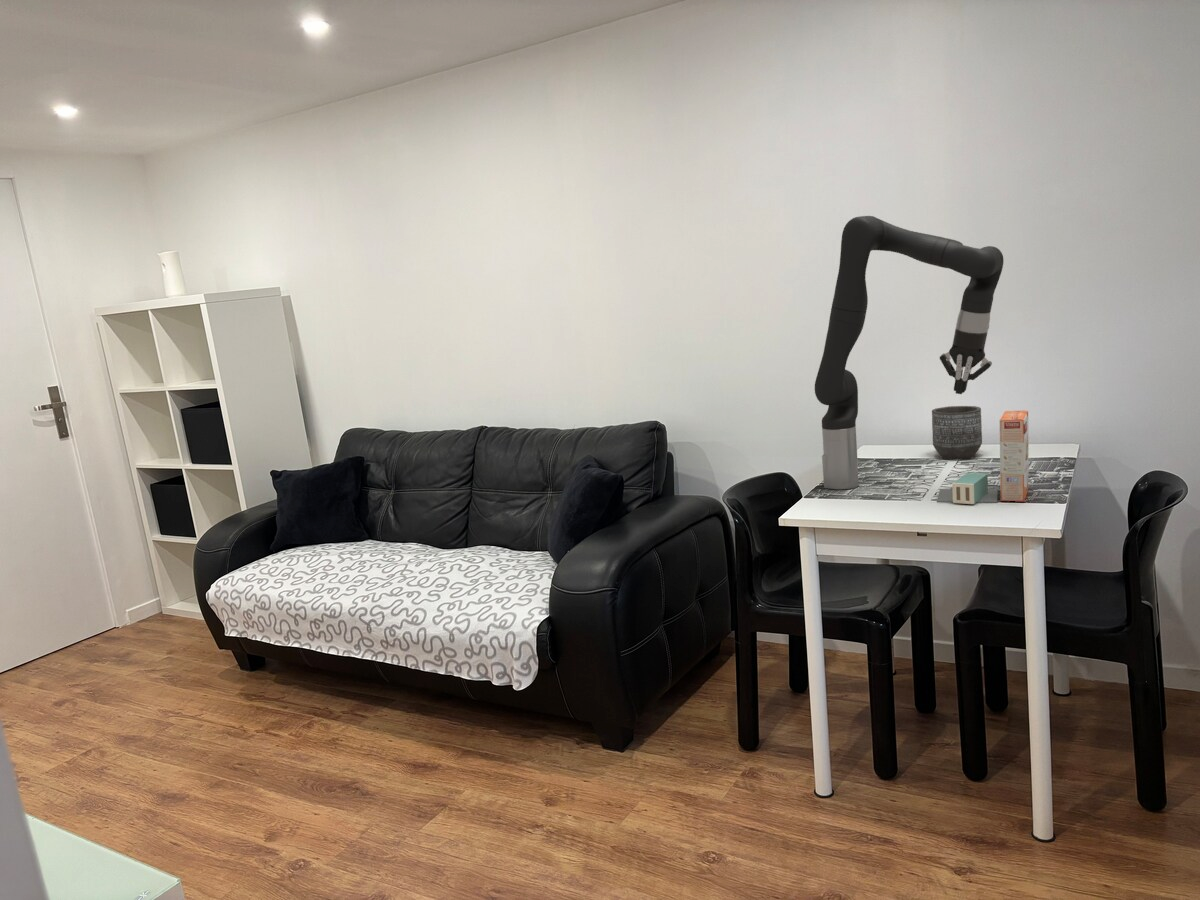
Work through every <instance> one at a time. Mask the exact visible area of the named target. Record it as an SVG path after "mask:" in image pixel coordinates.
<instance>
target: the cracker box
mask: <svg viewBox="0 0 1200 900" xmlns="http://www.w3.org/2000/svg"><path fill="white" fill-rule="evenodd" d="M999 472H1000V473H999V475H1000V476H999V484H1000V485H999V486H1000V498H999V499H1000V501H1001V502H1010V501H1015V503H1017V502H1018V503H1025V502H1026V497H1027V494H1028V491H1029V410H1005V411H1003V413H1002V415H1001V417H1000V419H999Z"/></svg>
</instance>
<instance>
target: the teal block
mask: <svg viewBox="0 0 1200 900" xmlns="http://www.w3.org/2000/svg"><path fill="white" fill-rule="evenodd" d="M988 478H989V477H988V473H977V472H974V473H973V472H967V473H965V474H964V475H962V476H961V477H960V478H958V479H957V480H955V481H953V482H952V483H951V485H952V488H951V489H952V491H953V503H952V504H964V505H965V504H967V505H974V504H977V503H976V502H977V501H978V500H980V499H981V498H982V497H983V496H985V495H986V494H987V493H988V489H989V483H988Z"/></svg>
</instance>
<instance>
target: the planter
mask: <svg viewBox="0 0 1200 900" xmlns="http://www.w3.org/2000/svg"><path fill="white" fill-rule="evenodd" d="M931 417H932V418H931V422H932V423H931V425H932V426H931V427H932V445H933V448H934V449H935V452H937V454H938V456H940V457H942V459H944V458H946V459H945V460H950V459H961V460H968V459H967V458H969V459H972V457H973V458H974V457H975V456H976V455H977V453H978V452H979V450H980V448H981V446H982V444H983V434H982V433H983V432H982V408H981V407H980V406H976V405H956V406H955V405H951V406H950V405H949V406H942V407H939V408H938V407H936V408H934V409H932V410H931Z"/></svg>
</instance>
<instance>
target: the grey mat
mask: <svg viewBox="0 0 1200 900" xmlns="http://www.w3.org/2000/svg"><path fill="white" fill-rule="evenodd" d="M998 492H999V491H998V488H988V493H987V494H986V495H985V496H983V497H982V498H981V499H980V500H978V501H977V502H978V503H977V504H998ZM936 499H937V500H936V503H937V502H953V491H952V488H940V489H939V491H938V496H937V498H936ZM982 502H983V503H982Z"/></svg>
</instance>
